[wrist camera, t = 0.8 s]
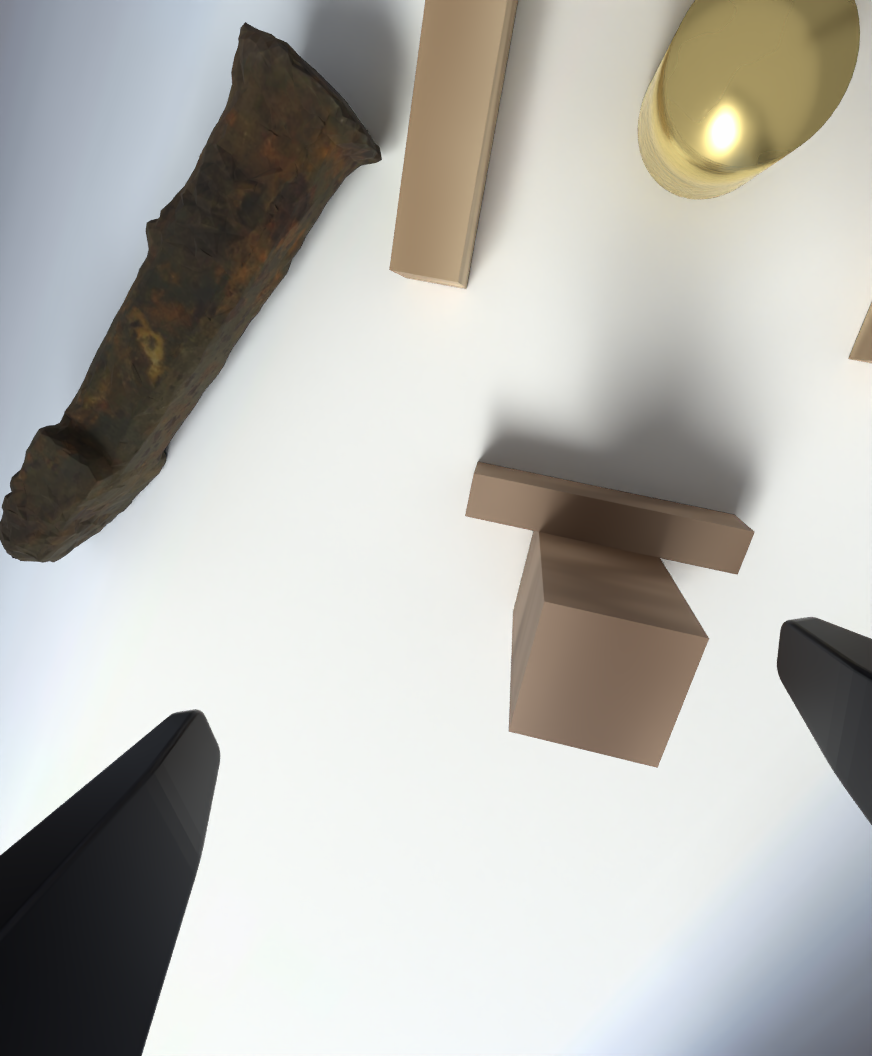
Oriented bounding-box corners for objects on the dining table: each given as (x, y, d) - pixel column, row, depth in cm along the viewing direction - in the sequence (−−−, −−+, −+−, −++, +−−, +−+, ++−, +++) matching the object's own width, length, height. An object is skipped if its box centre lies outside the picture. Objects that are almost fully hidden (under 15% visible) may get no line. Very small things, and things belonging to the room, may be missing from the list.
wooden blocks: (1187, -219, 13) (1338, -345, 10) (916, 371, 17) (978, 377, 15) (488, -291, 14) (480, -417, 12) (406, 277, 18) (389, 269, 16)
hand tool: (299, 59, 17) (220, -36, 13) (396, 157, 17) (353, 98, 13) (34, 491, 23) (-78, 526, 19) (111, 555, 24) (18, 604, 19)
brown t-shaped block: (734, 514, 19) (842, 607, 13) (682, 650, 21) (753, 791, 15) (478, 461, 20) (456, 523, 13) (449, 597, 22) (418, 709, 15)
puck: (812, 43, 15) (893, -38, 12) (756, 210, 16) (815, 179, 13) (662, 22, 15) (700, -63, 12) (620, 187, 17) (644, 151, 13)
